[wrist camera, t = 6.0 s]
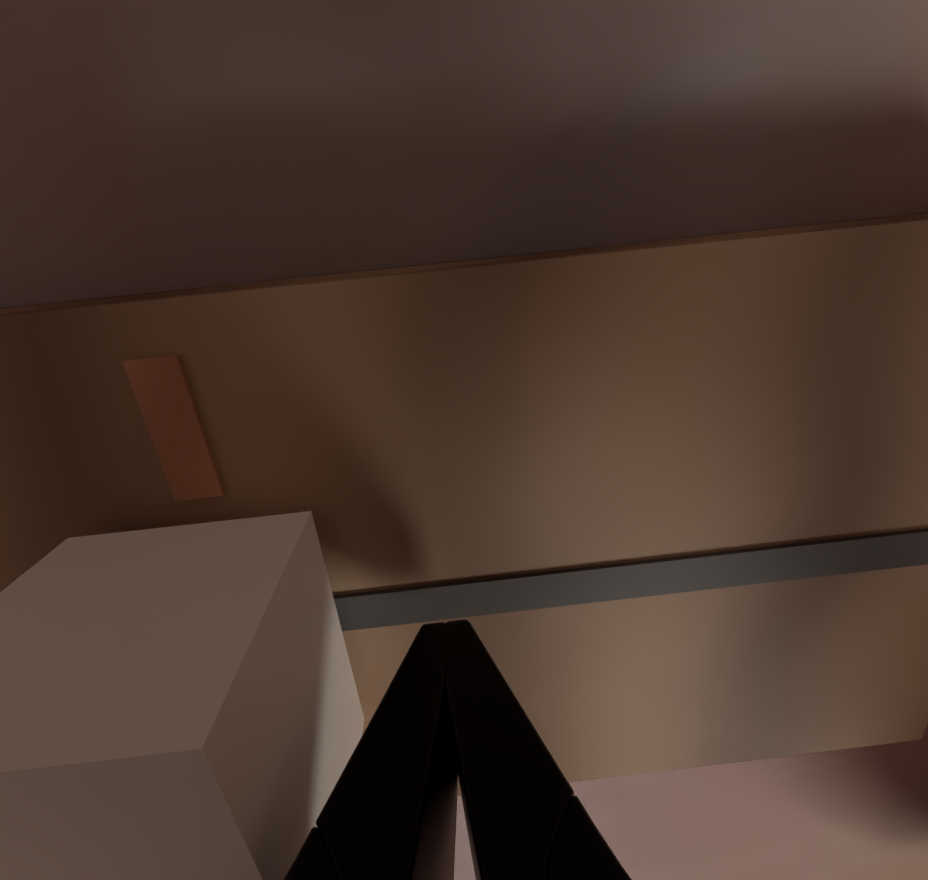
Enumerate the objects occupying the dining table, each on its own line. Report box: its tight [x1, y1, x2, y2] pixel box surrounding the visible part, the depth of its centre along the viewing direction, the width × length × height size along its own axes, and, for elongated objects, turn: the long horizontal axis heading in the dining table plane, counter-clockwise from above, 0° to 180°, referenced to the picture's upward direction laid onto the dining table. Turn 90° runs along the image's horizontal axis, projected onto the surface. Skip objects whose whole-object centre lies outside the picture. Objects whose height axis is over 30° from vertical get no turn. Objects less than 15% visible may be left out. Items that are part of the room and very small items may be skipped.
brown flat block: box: [0, 213, 928, 796], centre depth 10 cm, size 20×12×3 cm, turn 95°
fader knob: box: [0, 511, 364, 880], centre depth 7 cm, size 4×5×4 cm
